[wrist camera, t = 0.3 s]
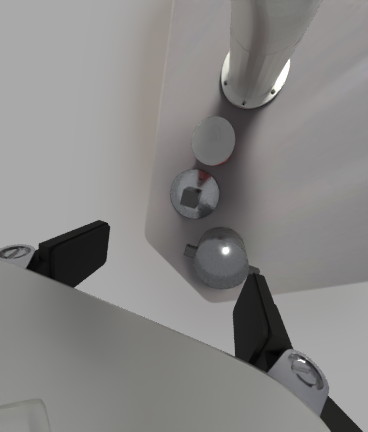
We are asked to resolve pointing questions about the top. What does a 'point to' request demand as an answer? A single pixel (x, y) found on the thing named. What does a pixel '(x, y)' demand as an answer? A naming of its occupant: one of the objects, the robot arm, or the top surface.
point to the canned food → (213, 141)
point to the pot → (221, 259)
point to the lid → (194, 193)
